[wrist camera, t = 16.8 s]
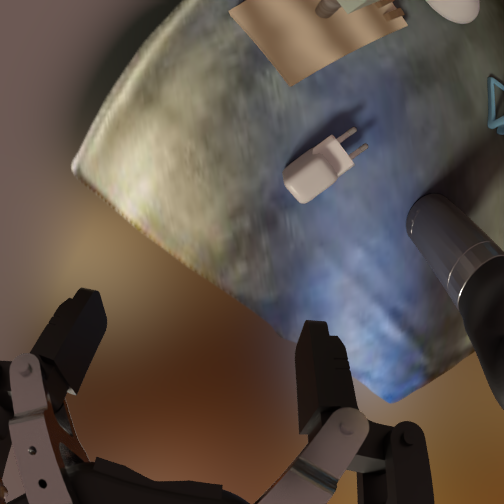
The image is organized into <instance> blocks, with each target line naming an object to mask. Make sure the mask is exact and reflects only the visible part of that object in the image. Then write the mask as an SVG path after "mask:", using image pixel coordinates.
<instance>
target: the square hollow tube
mask: <svg viewBox="0 0 504 504" xmlns="http://www.w3.org/2000/svg"><path fill="white" fill-rule="evenodd" d="M337 1H338V2H339V4H340V5H341V6H342V7H343V9H344V10H345V11H346V13H347V14H349V13H352V12H354V11H356V10H358V9H361V8H363V7H365V6H368V5H370V4H373V3H375V2H378V1H380V0H337Z"/></svg>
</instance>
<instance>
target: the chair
mask: <svg viewBox="0 0 504 504" xmlns="http://www.w3.org/2000/svg"><path fill="white" fill-rule="evenodd" d="M494 84H495V85H497V86H498V87H499V88H501V89H502V90H503V91H504V85H502V84H501V83H500V82H498V81H497V80H496V79H494V78H493V77H488V128H491V129H494V128H496V127H498V128H497V133H498V134H500V135H504V115H503V116H502V117H500V118H498V119H496V120H495V95H494Z"/></svg>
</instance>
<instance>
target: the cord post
mask: <svg viewBox="0 0 504 504" xmlns="http://www.w3.org/2000/svg"><path fill="white" fill-rule="evenodd" d="M393 1H395V0H380V1H378V2H375V3H373V4H370V5H368V6H365V7H363V8H361V9H358V10H356V11H354V12H352V13H349V14H347V13H346V11H345V10H344V9H343V7H342V6H341V5H340V4H339V2H338V1H337V0H246V1H244V2H243V3H241V4H239V5H238V6H236V7H235V8H233V9H231V10H230V11H228V12H229V13H230V15H231V17H232V18H233V19H234V20H235V21H236V22H237V23H238V24H239V25H240V26H241V28H242V29H243V30H244V31H245V32H246V33H247V34H248V36H249V37H250V38H251V39H252V40H253V41H254V42H255V44H256V45H257V46H258V47H259V48H260V50H261V51H262V52H263V53H264V54H265V56H266V57H267V58H268V59H269V61H270V62H271V63H272V64H273V66H274V67H275V68H276V69H277V71H278V72H279V73H280V75H281V76H282V77H283V78H284V80H285V81H286V82H287V84H288V85H289V86H293V85H294V84H296V83H298V82H299V81H301V80H303V79H304V78H306V77H308V76H309V75H311V74H313V73H314V72H316V71H318V70H320V69H321V68H323V67H325V66H327V65H328V64H330V63H332V62H334V61H336V60H337V59H339V58H341V57H343V56H345V55H347V54H349V53H351V52H353V51H355V50H356V49H358V48H360V47H362V46H364V45H366V44H368V43H371V42H373V41H375V40H377V39H379V38H381V37H383V36H385V35H388V34H390V33H392V32H394V31H396V30H399V29H401V28H403V27H406V26H408V25H407V23H406V22H405V20H404V19H403V17H402V16H403V15H405V14H404V12H403V11H402V10H401V8H396V7H395V6H394V4H393V3H392V2H393Z"/></svg>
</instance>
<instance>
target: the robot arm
mask: <svg viewBox="0 0 504 504" xmlns="http://www.w3.org/2000/svg"><path fill="white" fill-rule="evenodd" d="M406 229H407V233H408V236H409V237H410V239H411V240H412V241H413V243H414V244H415V245H416V247H417V248H418V250H419V251H420V253H421V254H422V255H423V257H424V258H425V260H426V261H427V263H428V264H429V265H430V267H431V268H432V270H433V271H434V273H435V274H436V276H437V277H438V279H439V280H440V282H441V283H442V285H443V286H444V288H445V289H446V291H447V293H448V294H449V296H450V297H451V299H452V300H453V302H454V304H455V305H456V307H457V309H458V310H459V312H460V314H461V315H462V317H463V320H464V326H465V330H466V332H467V334H468V336H469V339H470V341H471V343H472V345H473V347H474V349H475V351H476V353H477V356H478V358H479V361H480V364H481V366H482V369H483V371H484V374H485V376H486V379H487V381H488V384H489V386H490V388H491V390H492V392H493V394H494V396H495V398H496V400H497V401H498V403H499V405H500V406H501V407H502V409H503V410H504V252H503V251H502V250H501V248H500V247H499V246H498V245H497V244H496V243H495V242H494V241H493V240H492V239H491V238H490V237H489V236H488V235H487V234H486V233H485V232H484V231H483V230H482V229H480V228H479V227H478V226H477V225H476V224H475V223H474V222H473V221H472V220H471V219H470V218H469V217H468V216H467V215H466V214H464V213H463V212H462V211H461V210H460V209H459V208H458V207H457V206H456V205H454V204H453V203H452V202H451V201H450V200H449V199H447V198H446V197H445V196H443V195H441V194H434V193H433V194H428V195H426V196H424V197H422V198H421V199H419V200H418V201H417V202H416V203H415V204H414V205H413V207H412V208H411V210H410V212H409V214H408V217H407V221H406ZM106 328H107V317H106V313H105V310H104V307H103V303H102V300H101V296H100V293H99V292H98V291H96V290H91V289H85V288H80V289H79V290H78V291H77V293H76V294H75V296H74V297H73V299H71V298H68V299H67V300H66V301H65V302H63V303H62V304H61V305H60V306H59V307H58V309H57V310H56V312H55V313H54V317H52V318H51V320H50V321H49V324H47V326H46V327H45V329H44V330H43V332H42V334H41V335H40V337H39V339H38V340H37V342H36V344H35V345H34V347H33V349H32V350H31V352H30V353H24V354H21V355H19V356H17V357H16V358H15V359H14V360H13V361H0V504H250V503H248V502H247V501H246V500H244V499H242V498H241V497H239V496H237V495H235V494H233V493H231V492H229V491H226V490H223V489H222V485H218V484H210V483H202V482H195V481H164V482H163V481H160V482H159V481H153V480H151V479H149V478H147V477H145V476H143V475H141V474H139V473H137V472H135V471H133V470H131V469H130V468H128V467H126V466H124V465H120V464H117V463H114V462H111V461H108V460H104V459H102V458H99V457H96V460H95V462H90V461H89V458H88V456H87V454H86V452H85V450H84V449H83V447H82V446H81V444H80V442H79V440H78V438H77V435H76V432H75V429H74V426H73V423H72V419H71V416H70V413H69V409H68V406H67V402H66V399H65V396H66V394H67V392H69V393H71V394H74V395H77V393H78V391H79V388H80V386H81V384H82V381H83V379H84V377H85V374H86V372H87V370H88V368H89V365H90V363H91V361H92V359H93V357H94V355H95V352H96V350H97V348H98V346H99V344H100V342H101V340H102V338H103V335H104V334H105V331H106ZM295 369H296V384H297V402H298V421H299V434H308V444H307V445H306V447H305V448H304V449H303V450H302V452H301V453H300V454H299V455H298V456H297V457H296V459H295V460H294V461H293V462H292V463H291V465H290V466H289V467H288V468H287V469H286V470H285V471H284V473H283V474H282V475H281V476H280V477H279V478H278V479H277V480H276V481H275V483H273V484H272V485H271V487H270V488H269V489H268V490H267V491H266V492H265V493H264V494H263V495H262V496H261V497H260V498H259V499H258V500H257V501H256V502H255V503H254V504H327V502H328V501H329V499H330V498H331V497H332V496H333V494H334V492H335V491H336V488H337V482H338V480H339V479H340V478H341V476H342V475H343V473H344V472H345V470H351V471H356V472H357V490H358V491H357V493H358V504H434V494H433V485H432V478H431V471H430V465H429V458H428V452H427V446H426V441H425V436H424V433H423V431H422V429H421V428H420V427H419V426H418V425H417V424H415V423H413V422H409V421H404V422H401V423H399V424H397V425H396V426H395V427H392V426H387V425H382V424H378V423H374V422H372V421H370V420H368V419H367V418H366V417H365V415H364V414H363V413H362V412H360V411H359V409H358V406H357V402H356V397H355V391H354V386H353V381H352V376H351V371H350V366H349V362H348V357H347V352H346V348H345V346H344V344H343V343H342V341H341V340H340V339H339V337H338V336H329V331H328V326H327V323H326V322H325V321H312V320H306V321H305V323H304V326H303V329H302V332H301V334H300V337H299V340H298V343H297V346H296V351H295ZM11 445H13V450H14V454H15V458H16V462H17V466H18V470H19V474H20V477H21V480H22V484H23V487H24V490H25V494H23V495H21V496H19V497H17V498H16V499H14V500H12V501H10V502H8V503H6V502H5V497H7V496H8V490H7V488H6V487H5V486H4V483H3V481H2V477H3V473H4V469H5V465H6V461H7V458H8V454H9V451H10V448H11Z"/></svg>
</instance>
